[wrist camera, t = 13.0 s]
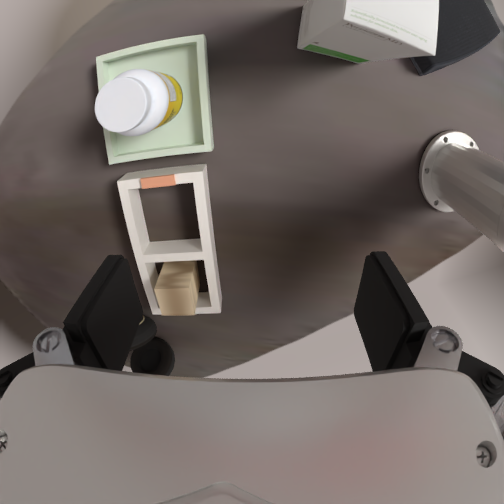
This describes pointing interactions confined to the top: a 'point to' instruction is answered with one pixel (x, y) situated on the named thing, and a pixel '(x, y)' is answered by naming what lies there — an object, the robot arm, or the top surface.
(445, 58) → the external hard drive
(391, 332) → the robot arm
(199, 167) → the holder
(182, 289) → the birch block
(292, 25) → the top surface
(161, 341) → the headphones
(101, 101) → the pill bottle
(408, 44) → the skincare box
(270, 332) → the top surface
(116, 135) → the tray
